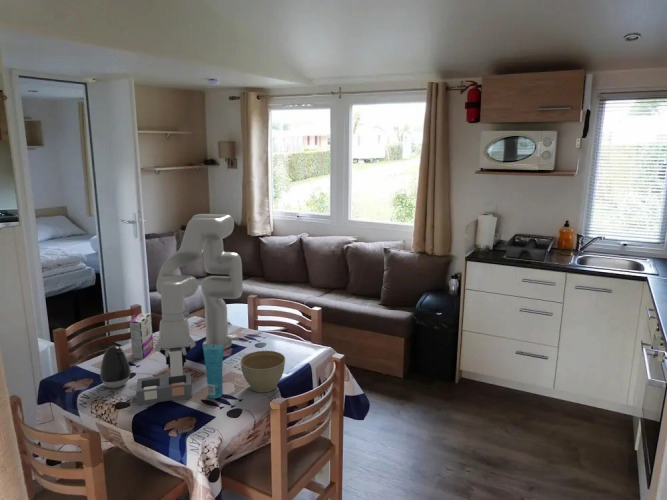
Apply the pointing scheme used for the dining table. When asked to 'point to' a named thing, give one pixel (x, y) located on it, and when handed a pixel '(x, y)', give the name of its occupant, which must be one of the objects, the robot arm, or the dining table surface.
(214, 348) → the tube
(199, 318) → the dining table surface
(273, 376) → the planter bowl
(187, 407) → the dining table surface
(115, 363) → the dark grey egg
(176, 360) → the plug
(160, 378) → the socket box
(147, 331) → the candy bar box
